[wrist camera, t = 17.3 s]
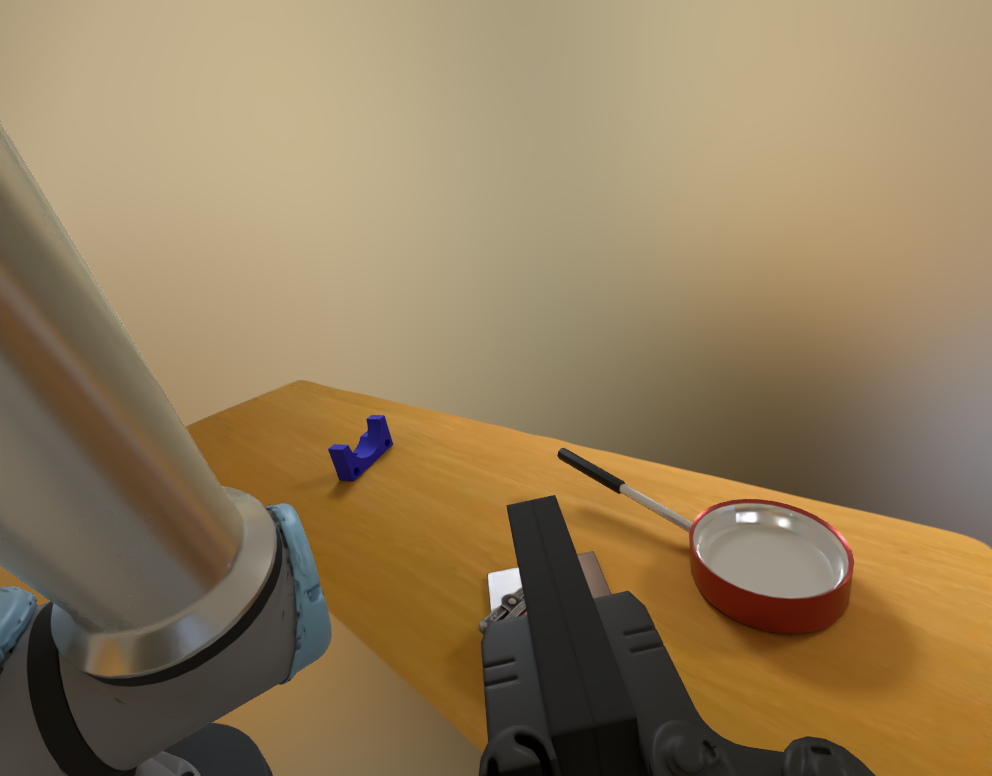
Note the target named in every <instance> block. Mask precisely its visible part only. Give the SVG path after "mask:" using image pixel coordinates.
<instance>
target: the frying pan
mask: <svg viewBox="0 0 992 776" xmlns="http://www.w3.org/2000/svg"><path fill="white" fill-rule="evenodd" d="M558 457H559V459H560V460H562V461H564V462H565V463H567V464H569V465H571V466H572V467H574V468H576V469H577V470H579V471H581V472H582V473H584V474H586V475H587V476H589V477H591V478H593V479H594V480H596V481H598V482H599V483H601V484H603V485H604V486H606V487H608V488H610V489H611V490H613V491H615V492H616V493H618V494H620V493H622V494H624V495H625V496H627V497H629V498H631V499H632V500H634V501H636V502H637V503H639V504H641V505H643V506H644V507H646V508H648V509H649V510H651V511H653V512H654V513H656V514H658V515H660V516H661V517H663V518H665V519H666V520H668V521H670V522H672V523H673V524H675V525H677V526H678V527H680V528H682V529H683V530H685V531H687V532H689V540H690V563H691V572H692V576H693V578H694V581H695V583H696V585H697V587H698V588H699V590H700V591H701V593H702V594H703V596H704V597H705V598H706V599H707V600H708V601H709V602H710V603H711V604H712V605H713V606H715V607H716V608H717V609H719V610H720V611H721V612H723V613H724V614H726V615H727V616H729V617H731V618H733V619H735V620H737V621H738V622H740V623H743V624H746V625H748V626H751V627H753V628H756V629H760V630H764V631H769V632H773V633H783V634H802V633H809V632H814V631H818V630H821V629H824V628H826V627H828V626H830V625H832V624H833V623H835V622H836V621H837V620H838V619H839V618H840V617H841V616H842V615H843V614H844V612H845V610H846V608H847V607H848V604H849V598H850V590H851V582H852V574H853V566H854V559H853V554H852V551H851V549H850V547H849V545H848V543H847V541H846V540H845V539H844V538H843V537H842V536H841V534H840V533H839V532H838V531H837V530H836V529H834V528H833V527H832V526H831V525H829V524H828V523H827V522H825V521H823V520H822V519H820V518H819V517H817V516H815V515H813V514H811V513H809V512H807V511H804V510H802V509H799V508H796V507H793V506H790V505H787V504H783V503H779V502H774V501H767V500H759V499H742V500H732V501H727V502H723V503H719V504H717V505H714V506H711V507H709V508H708V509H706V510H704V511H703V512H701V513H700V514H699V515H698V516H697V517H696V518H695V520H694V522H693V523H692V522H691V521H689V520H687V519H685V518H683V517H682V516H680V515H678V514H676V513H675V512H673V511H671V510H669V509H668V508H666V507H664V506H662V505H661V504H659V503H657V502H655V501H653V500H652V499H650V498H648V497H646V496H645V495H643V494H641V493H639V492H638V491H636V490H634V489H632V488H631V487H629V486H627V485H625V483H624V481H622V480H620V479H619V478H617V477H615V476H613V475H612V474H610V473H608V472H606V471H604V470H603V469H601V468H599V467H597V466H596V465H594V464H592V463H590V462H588V461H587V460H585V459H583V458H581V457H580V456H578V455H576V454H574V453H572V452H571V451H569V450H567V449H565V448H561V449H560V450H559V451H558Z"/></svg>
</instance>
